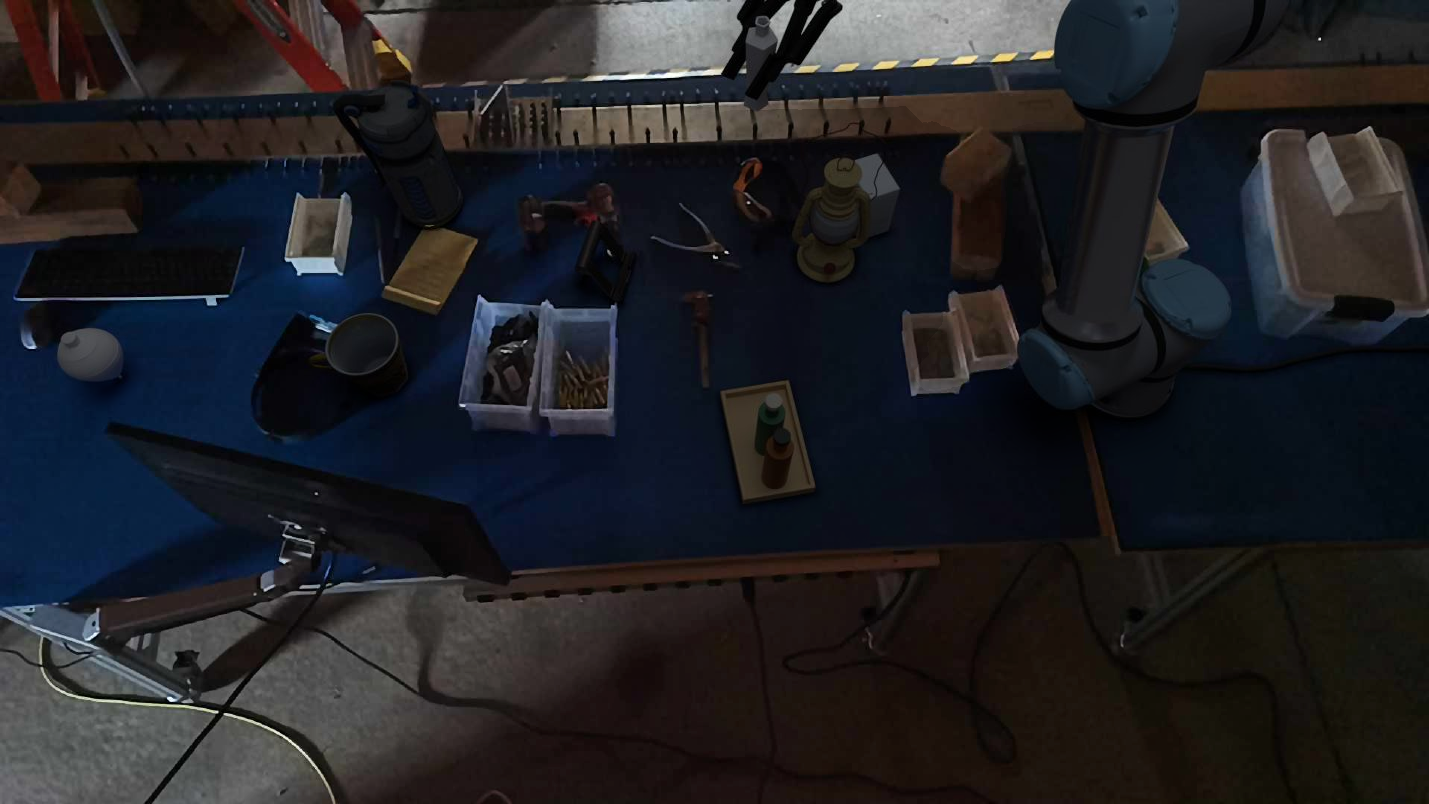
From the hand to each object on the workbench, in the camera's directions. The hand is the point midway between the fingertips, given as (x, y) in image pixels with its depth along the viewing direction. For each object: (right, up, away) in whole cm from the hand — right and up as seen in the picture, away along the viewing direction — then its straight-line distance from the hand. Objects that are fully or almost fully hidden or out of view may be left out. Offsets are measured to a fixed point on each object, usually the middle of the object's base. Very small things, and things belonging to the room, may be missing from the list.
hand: (739, 86), depth 126 cm
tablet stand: (-21, -26, +11) cm, 35 cm away
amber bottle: (+5, -57, -5) cm, 57 cm away
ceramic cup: (-54, -43, +2) cm, 69 cm away
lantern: (+14, -24, +12) cm, 30 cm away
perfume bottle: (+3, 0, +6) cm, 7 cm away
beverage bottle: (-51, -14, +16) cm, 55 cm away
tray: (+4, -52, -2) cm, 52 cm away
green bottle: (+4, -52, -3) cm, 53 cm away
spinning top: (-92, -43, +2) cm, 101 cm away
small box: (+21, -16, +16) cm, 31 cm away
